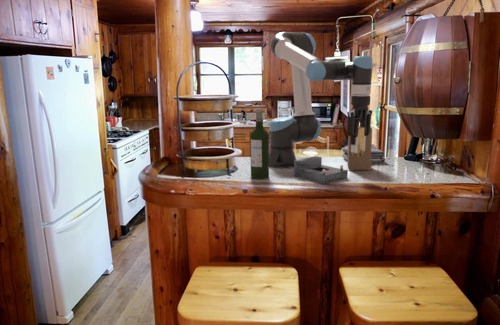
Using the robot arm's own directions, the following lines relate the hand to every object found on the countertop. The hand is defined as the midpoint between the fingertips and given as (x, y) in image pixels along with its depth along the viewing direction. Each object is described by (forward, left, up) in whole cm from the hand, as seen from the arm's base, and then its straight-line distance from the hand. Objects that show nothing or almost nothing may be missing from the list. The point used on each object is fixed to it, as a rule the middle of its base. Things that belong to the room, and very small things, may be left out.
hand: (357, 151), depth 167 cm
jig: (-11, -10, -12) cm, 19 cm away
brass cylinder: (0, 0, -2) cm, 2 cm away
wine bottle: (-28, -30, -12) cm, 43 cm away
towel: (-21, +32, -12) cm, 41 cm away
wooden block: (-11, +16, -12) cm, 23 cm away
